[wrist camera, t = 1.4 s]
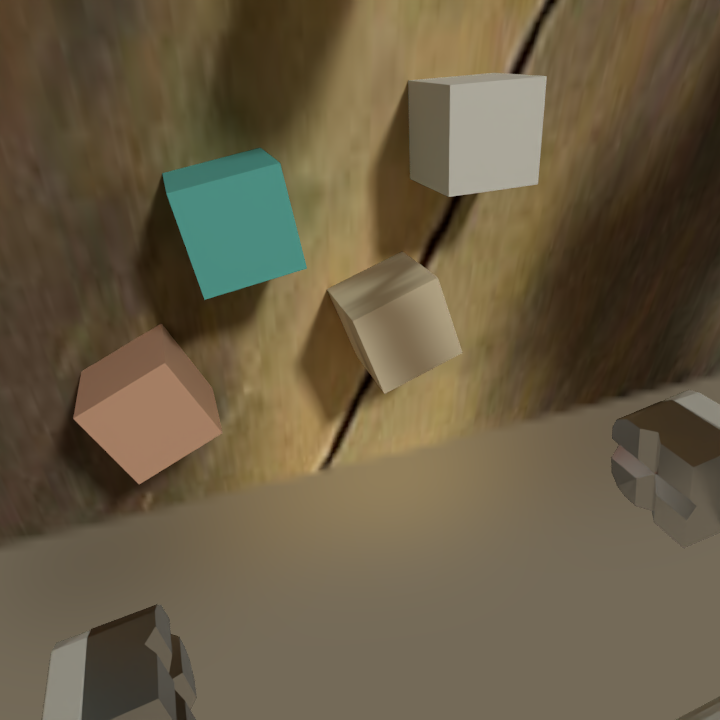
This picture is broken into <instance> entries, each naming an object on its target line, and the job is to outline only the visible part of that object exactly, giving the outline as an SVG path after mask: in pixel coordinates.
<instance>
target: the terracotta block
mask: <svg viewBox="0 0 720 720" xmlns="http://www.w3.org/2000/svg"><path fill="white" fill-rule="evenodd" d="M73 419H74V420H75V421H76V422H77V423H78V424H79V425H80V426H81V427H82V428H83V429H84V430H85V431H86V432H87V433H88V434H89V435H90V436H91V437H92V438H93V439H94V440H95V441H96V442H97V443H98V444H99V445H100V446H101V447H102V448H103V449H104V450H105V451H106V452H107V453H108V454H109V455H110V456H111V457H112V458H113V459H114V460H115V461H116V462H117V463H118V464H119V465H120V466H121V467H122V468H123V469H124V470H125V471H126V472H127V473H128V474H129V475H130V476H131V477H132V478H133V479H134V480H135V481H136V482H137V483H138V484H141V483H142V482H144V481H146V480H147V479H149V478H150V477H152V476H154V475H155V474H157V473H159V472H160V471H162V470H163V469H165V468H167V467H168V466H170V465H171V464H173V463H175V462H176V461H178V460H180V459H181V458H183V457H184V456H186V455H188V454H189V453H191V452H193V451H194V450H196V449H197V448H199V447H201V446H202V445H204V444H205V443H207V442H209V441H210V440H212V439H214V438H215V437H217V436H218V435H220V434H222V428H221V424H220V420H219V415H218V411H217V406H216V402H215V397H214V393H213V388H212V387H211V386H210V384H209V383H208V382H207V381H206V379H205V378H204V377H203V375H202V374H201V373H200V372H199V370H198V369H197V368H196V367H195V365H194V364H193V363H192V361H191V360H190V359H189V358H188V356H187V355H186V354H185V353H184V351H183V350H182V349H181V348H180V346H179V345H178V344H177V342H176V341H175V340H174V339H173V337H172V336H171V335H170V334H169V332H168V331H167V330H166V328H165V327H164V326H163V325H162V323H161V324H159V325H158V326H156V327H154V328H153V329H151V330H149V331H148V332H146V333H145V334H143V335H141V336H140V337H138V338H136V339H135V340H133V341H131V342H130V343H128V344H126V345H125V346H123V347H121V348H120V349H118V350H116V351H115V352H113V353H111V354H110V355H108V356H106V357H105V358H103V359H101V360H100V361H98V362H97V363H95V364H93V365H92V366H90V367H88V368H87V369H85V370H83V371H82V372H81V377H80V383H79V388H78V394H77V400H76V406H75V411H74V417H73Z"/></svg>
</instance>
